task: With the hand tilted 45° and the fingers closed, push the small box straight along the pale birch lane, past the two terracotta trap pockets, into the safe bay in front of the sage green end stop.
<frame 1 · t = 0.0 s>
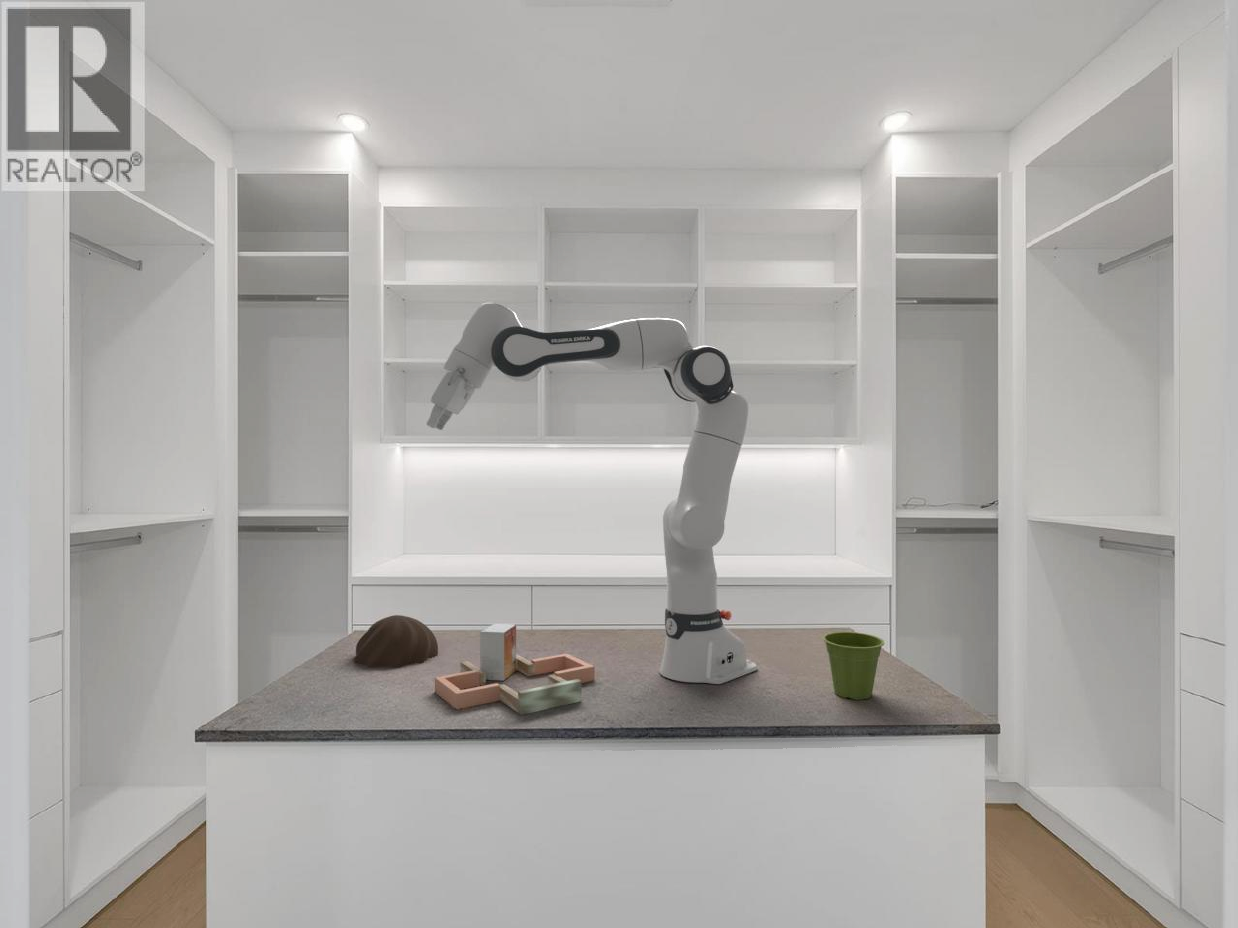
hand: (434, 427, 150), 54 cm above the worktop, tool tilted 30°, fingers open, 8 cm apart
plant pot: (853, 695, 142), on the worktop
small box: (498, 676, 154), on the worktop
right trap: (558, 677, 152), on the worktop
decorative dome: (396, 657, 170), on the worktop
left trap: (471, 695, 141), on the worktop
trap lane: (515, 685, 147), on the worktop
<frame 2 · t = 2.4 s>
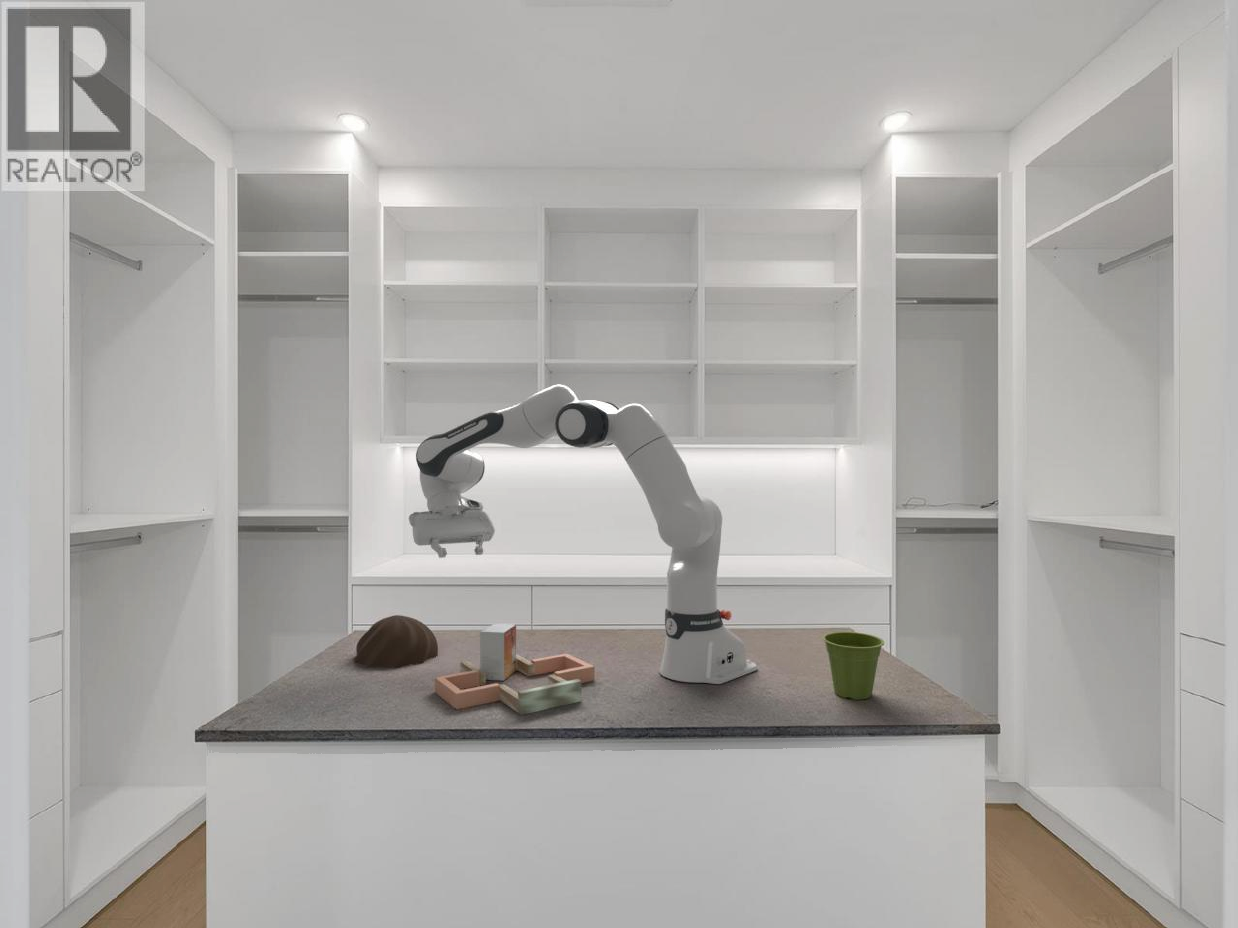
hand: (461, 554, 170), 24 cm above the worktop, tool tilted 45°, fingers open, 8 cm apart
nothing on the worktop moved.
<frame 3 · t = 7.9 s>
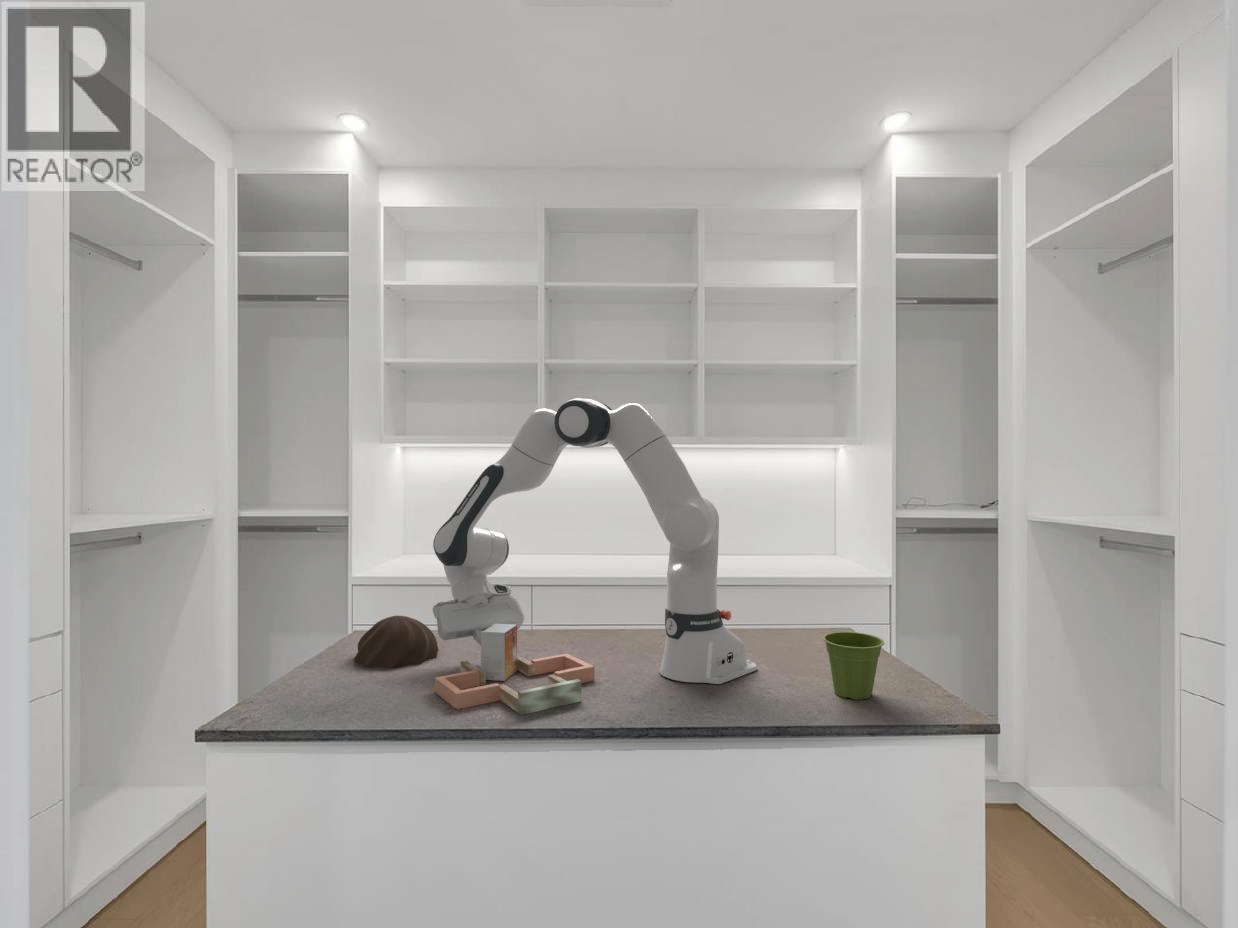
hand: (490, 648, 158), 5 cm above the worktop, tool tilted 45°, fingers closed
small box: (499, 676, 154), on the worktop, touching gripper
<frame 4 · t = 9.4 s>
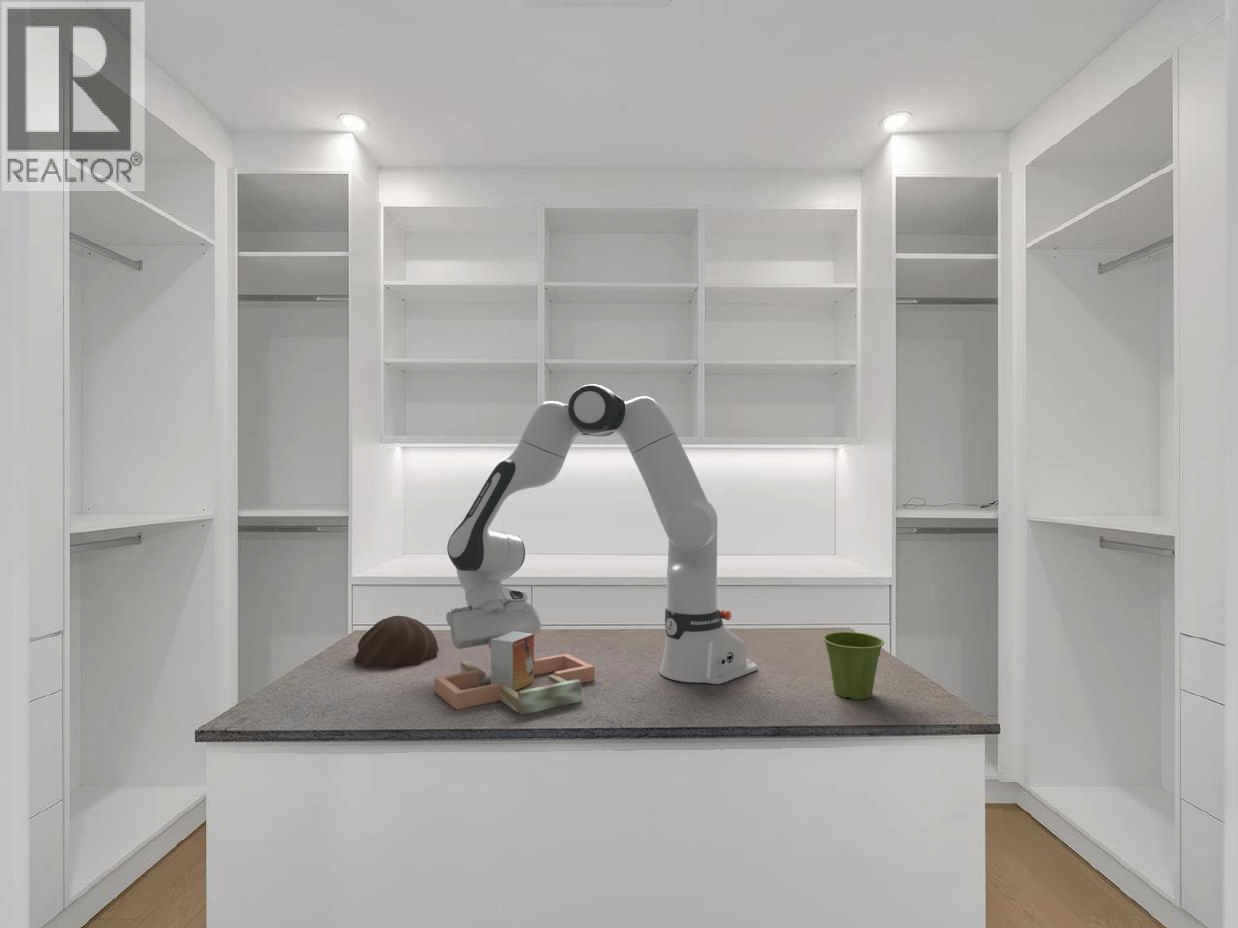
hand: (506, 657, 151), 5 cm above the worktop, tool tilted 45°, fingers closed
small box: (512, 686, 147), on the worktop, touching gripper
everything else where it was.
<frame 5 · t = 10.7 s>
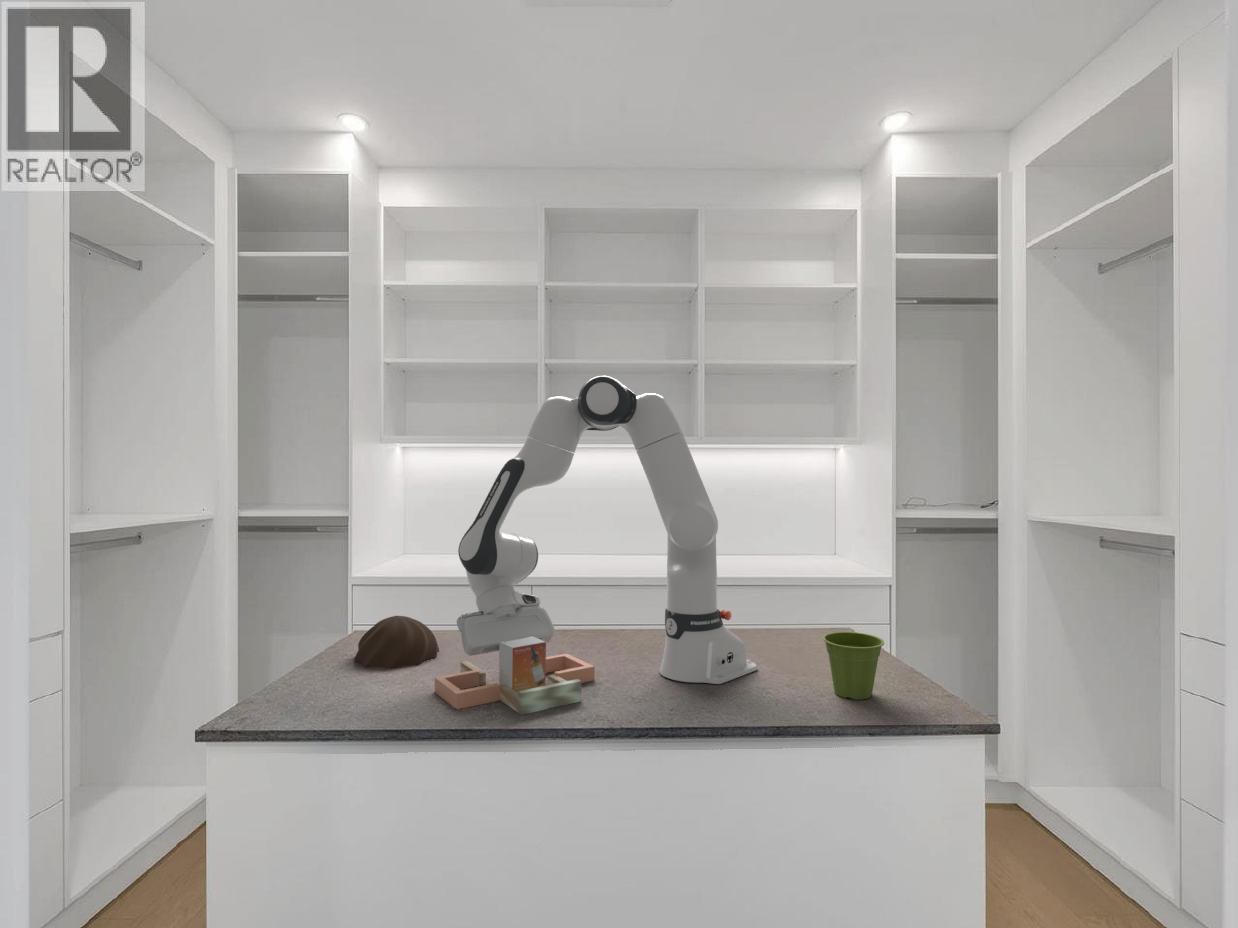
hand: (519, 664, 146), 5 cm above the worktop, tool tilted 45°, fingers closed
small box: (522, 693, 142), on the worktop, touching gripper
everything else where it was.
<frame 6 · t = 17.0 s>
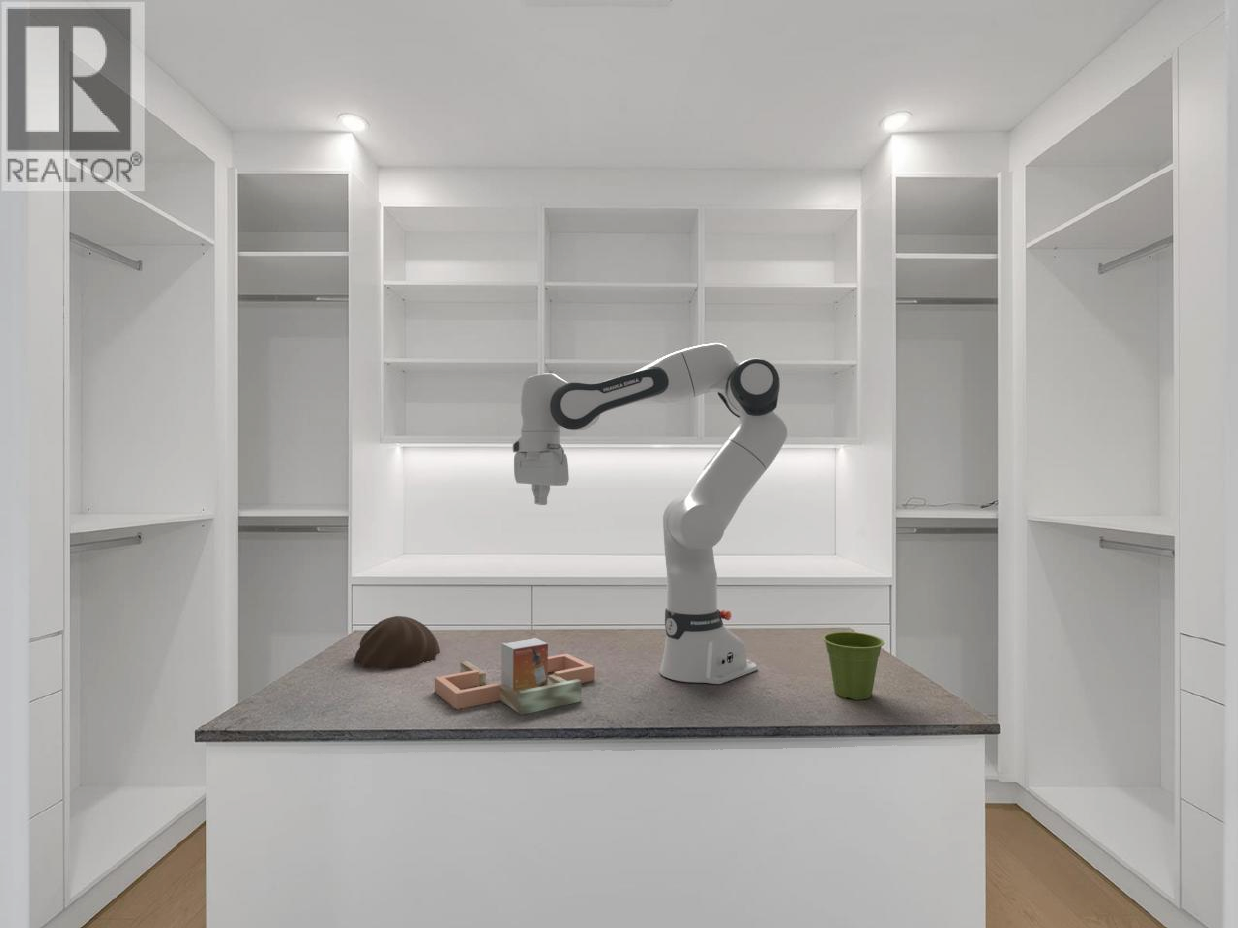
hand: (540, 504, 161), 37 cm above the worktop, tool pointing down, fingers closed
small box: (524, 695, 142), on the worktop
at the end: small box inside the target area (3.4 cm from its centre), on the worktop; small box tilted 0° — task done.
